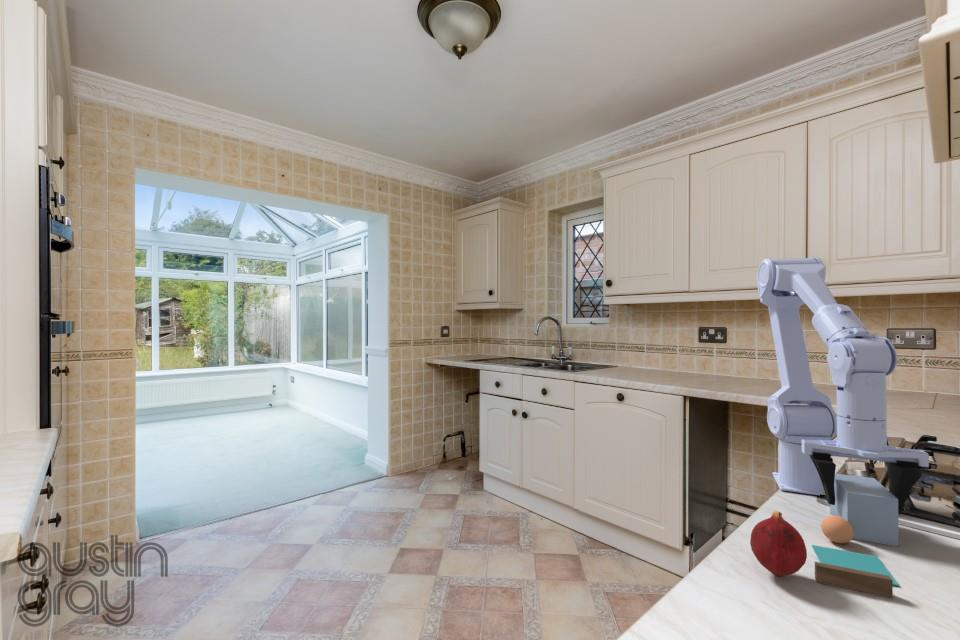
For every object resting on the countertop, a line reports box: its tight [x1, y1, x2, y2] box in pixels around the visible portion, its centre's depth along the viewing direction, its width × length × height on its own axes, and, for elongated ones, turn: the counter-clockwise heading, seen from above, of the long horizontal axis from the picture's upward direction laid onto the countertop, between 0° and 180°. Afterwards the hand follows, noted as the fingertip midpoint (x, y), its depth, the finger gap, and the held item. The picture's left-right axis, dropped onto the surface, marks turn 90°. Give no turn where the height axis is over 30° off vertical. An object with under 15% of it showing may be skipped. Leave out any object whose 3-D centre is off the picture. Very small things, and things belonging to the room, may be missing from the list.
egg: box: [820, 515, 854, 544], centre depth 62 cm, size 4×4×4 cm
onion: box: [749, 509, 808, 578], centre depth 54 cm, size 6×6×8 cm
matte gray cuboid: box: [829, 473, 899, 547], centre depth 66 cm, size 9×6×7 cm, turn 154°
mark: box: [811, 544, 900, 588], centre depth 57 cm, size 7×7×1 cm
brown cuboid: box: [814, 561, 894, 599], centre depth 52 cm, size 1×7×2 cm, turn 64°
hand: (861, 506), depth 66 cm, fingers open, 7 cm apart
